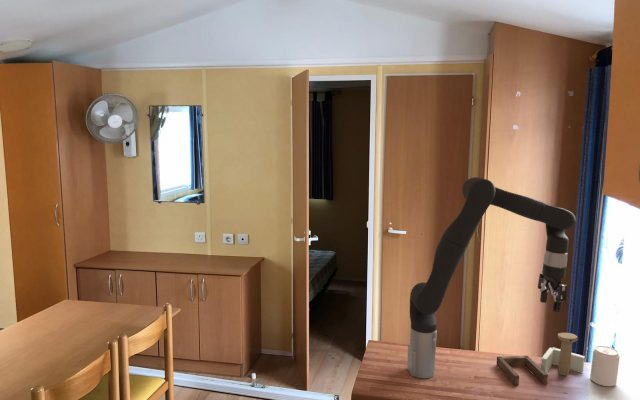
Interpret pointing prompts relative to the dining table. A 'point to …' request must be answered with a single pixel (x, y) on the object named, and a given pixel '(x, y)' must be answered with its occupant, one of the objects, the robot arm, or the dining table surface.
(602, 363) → the beverage can
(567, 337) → the handle
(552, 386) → the dining table surface
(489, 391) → the dining table surface
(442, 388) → the dining table surface
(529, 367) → the u-shaped bracket
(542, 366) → the cream l-shaped bracket
